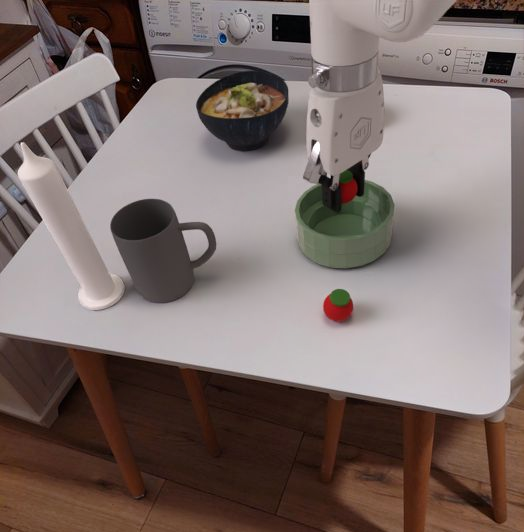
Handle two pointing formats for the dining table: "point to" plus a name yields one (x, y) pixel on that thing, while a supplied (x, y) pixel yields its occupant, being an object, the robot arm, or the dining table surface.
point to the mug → (157, 248)
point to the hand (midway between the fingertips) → (343, 199)
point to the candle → (69, 231)
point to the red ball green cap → (347, 186)
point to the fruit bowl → (345, 227)
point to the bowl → (244, 108)
